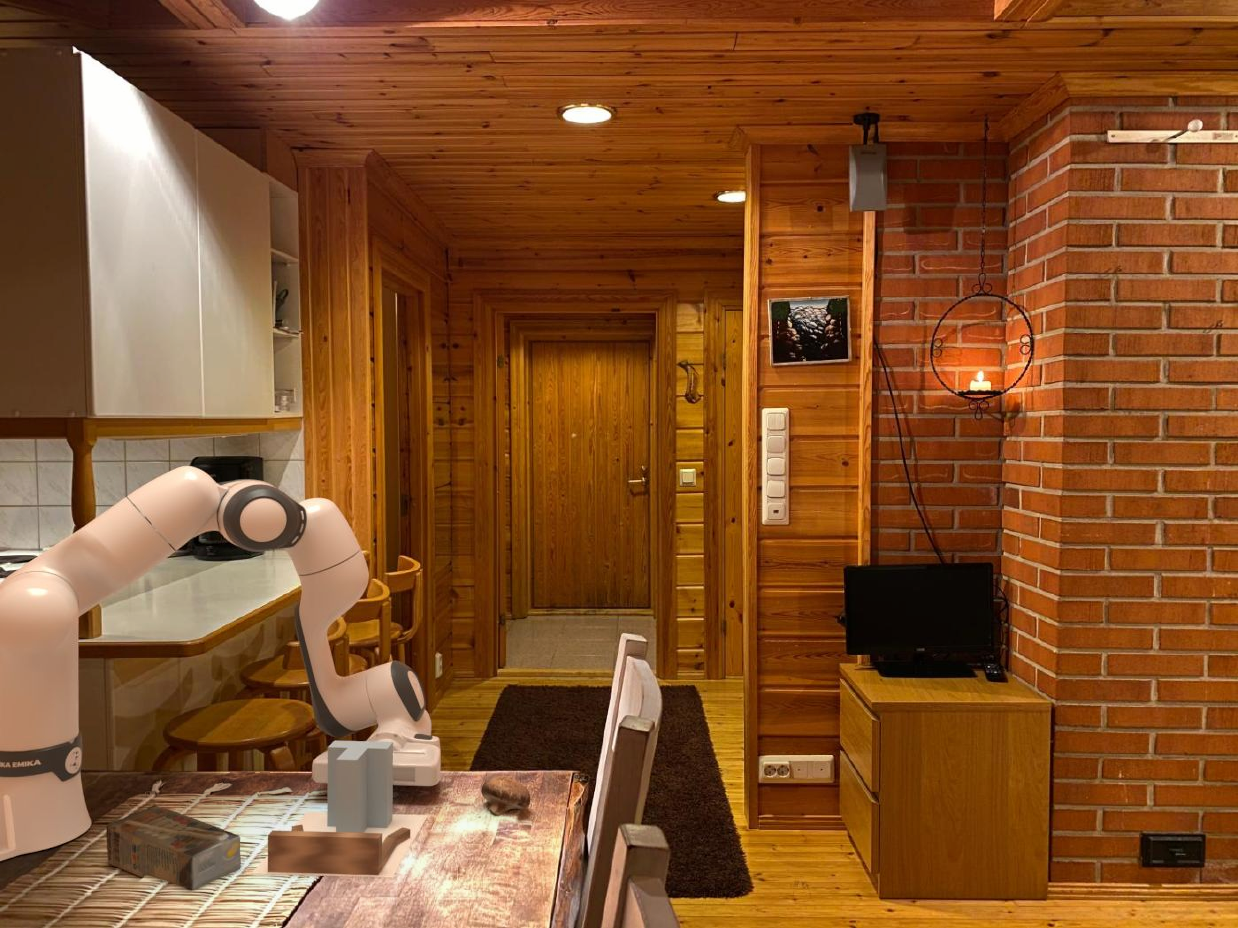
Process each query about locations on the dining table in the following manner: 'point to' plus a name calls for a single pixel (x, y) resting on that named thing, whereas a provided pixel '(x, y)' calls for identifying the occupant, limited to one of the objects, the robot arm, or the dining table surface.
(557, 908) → the dining table surface
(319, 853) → the dock fence
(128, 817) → the beverage carton
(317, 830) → the board
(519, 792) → the mushroom
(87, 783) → the dining table surface
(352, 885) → the dining table surface
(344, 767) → the tee block
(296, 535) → the robot arm
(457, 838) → the dining table surface
